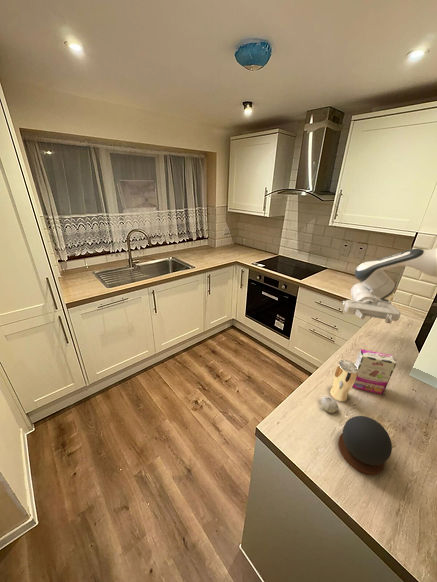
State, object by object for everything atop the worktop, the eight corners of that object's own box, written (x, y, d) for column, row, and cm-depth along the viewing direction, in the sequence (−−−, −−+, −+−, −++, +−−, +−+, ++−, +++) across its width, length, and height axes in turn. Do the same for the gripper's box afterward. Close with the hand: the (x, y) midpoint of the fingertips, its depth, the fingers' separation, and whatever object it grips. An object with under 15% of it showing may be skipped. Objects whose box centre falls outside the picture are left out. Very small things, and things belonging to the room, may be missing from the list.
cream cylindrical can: (324, 394, 90) (334, 364, 83) (333, 385, 94) (343, 356, 87) (343, 407, 85) (354, 376, 78) (351, 397, 89) (363, 367, 83)
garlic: (316, 408, 84) (319, 398, 82) (321, 399, 88) (324, 389, 86) (333, 419, 81) (337, 408, 78) (338, 408, 84) (342, 398, 82)
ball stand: (375, 441, 74) (389, 413, 68) (388, 483, 64) (406, 454, 58) (334, 429, 77) (345, 402, 72) (340, 468, 67) (353, 439, 61)
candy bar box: (378, 386, 94) (393, 354, 87) (382, 396, 90) (398, 363, 83) (348, 379, 97) (359, 348, 90) (350, 388, 93) (362, 356, 86)
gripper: (343, 294, 106) (349, 308, 94) (394, 301, 101) (408, 317, 89) (339, 306, 109) (345, 321, 97) (389, 313, 104) (401, 331, 92)
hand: (375, 319), depth 93 cm, fingers open, 8 cm apart
